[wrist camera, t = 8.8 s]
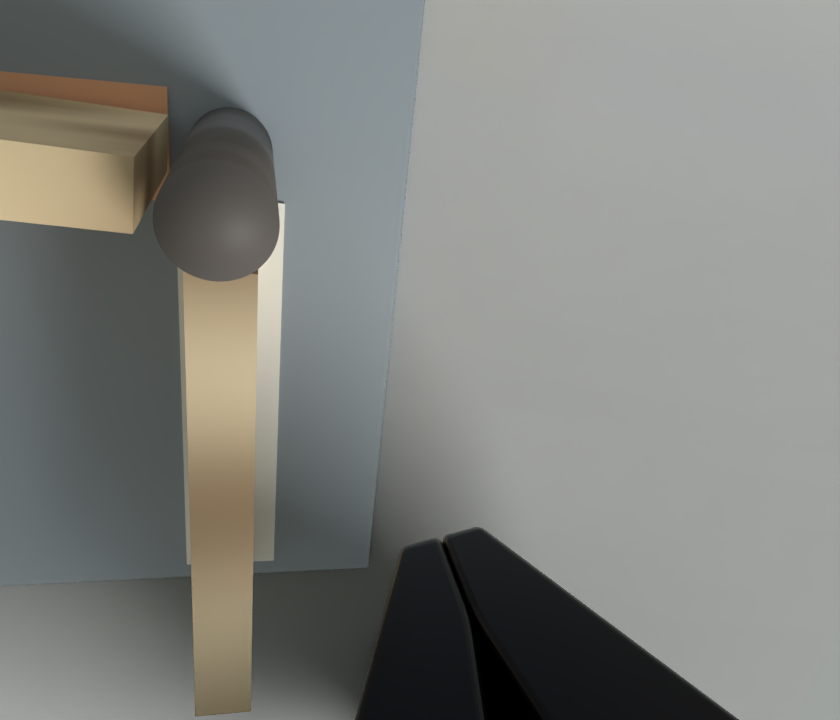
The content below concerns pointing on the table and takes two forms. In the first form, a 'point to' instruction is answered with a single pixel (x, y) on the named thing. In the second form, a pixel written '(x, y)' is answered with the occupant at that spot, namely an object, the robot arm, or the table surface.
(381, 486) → the table surface
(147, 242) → the card
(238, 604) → the fence base
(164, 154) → the fence panel
